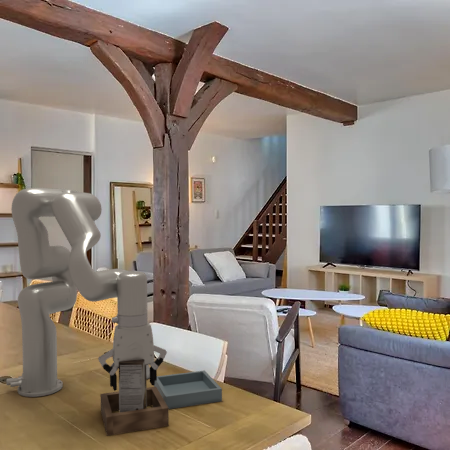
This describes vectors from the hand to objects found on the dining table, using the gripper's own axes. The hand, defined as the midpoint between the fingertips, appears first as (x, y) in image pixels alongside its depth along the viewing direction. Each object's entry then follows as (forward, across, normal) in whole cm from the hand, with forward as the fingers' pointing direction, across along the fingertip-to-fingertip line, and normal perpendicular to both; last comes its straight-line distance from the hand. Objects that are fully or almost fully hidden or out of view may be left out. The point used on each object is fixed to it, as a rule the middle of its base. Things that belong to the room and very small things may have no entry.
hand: (133, 386), depth 121 cm
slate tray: (+8, +17, +10) cm, 21 cm away
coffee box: (+8, 0, 0) cm, 9 cm away
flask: (+8, +7, +29) cm, 31 cm away
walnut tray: (+8, 0, 0) cm, 8 cm away
